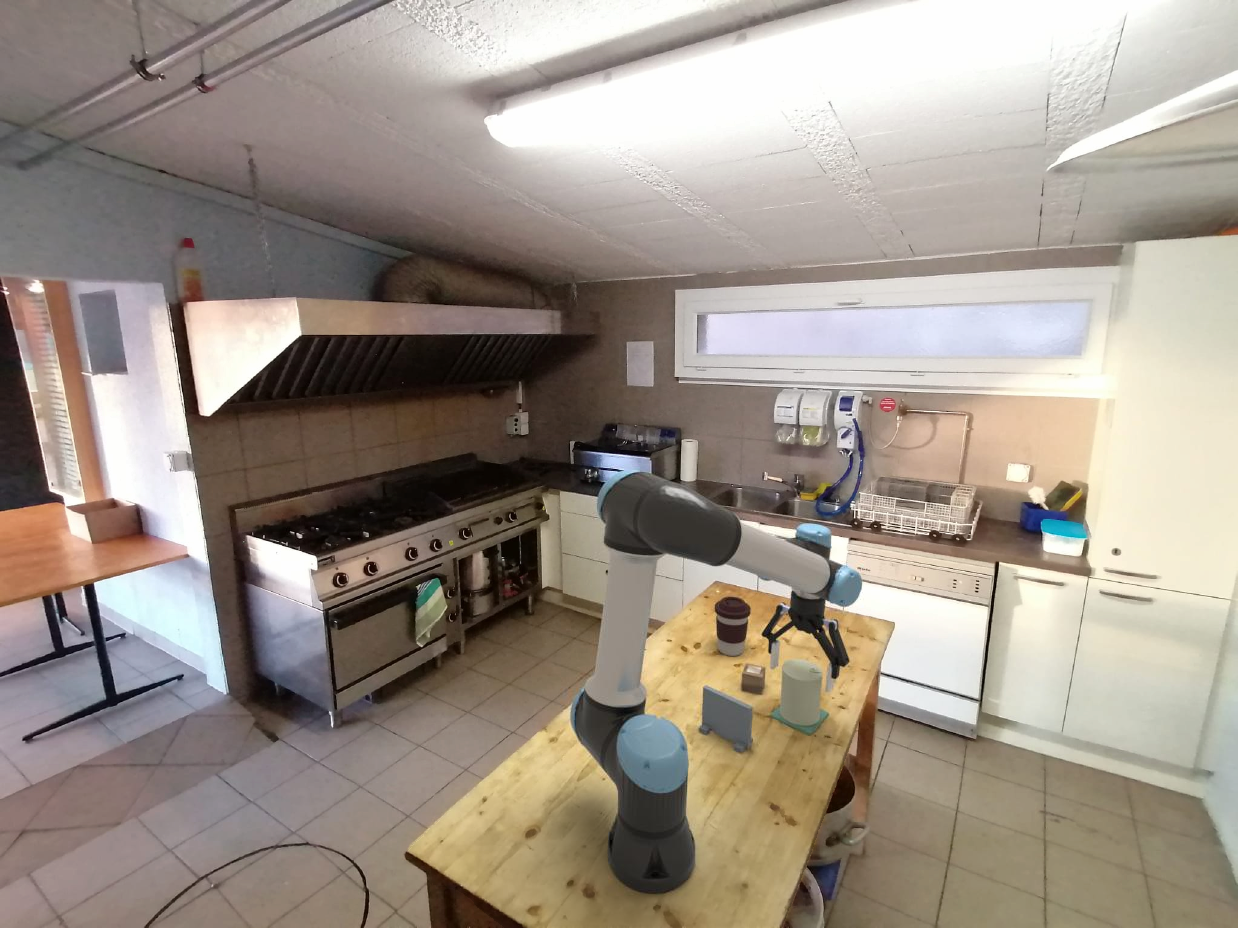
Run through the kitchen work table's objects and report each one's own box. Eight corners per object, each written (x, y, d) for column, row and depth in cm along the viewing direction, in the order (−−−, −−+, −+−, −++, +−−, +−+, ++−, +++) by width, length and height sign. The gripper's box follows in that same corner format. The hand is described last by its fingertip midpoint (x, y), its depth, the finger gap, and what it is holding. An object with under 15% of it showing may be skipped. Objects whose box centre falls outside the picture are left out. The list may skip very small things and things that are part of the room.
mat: (810, 735, 133) (810, 733, 132) (769, 716, 139) (770, 714, 139) (828, 714, 140) (828, 712, 140) (789, 697, 146) (789, 695, 146)
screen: (743, 754, 127) (745, 713, 124) (696, 729, 134) (698, 690, 132) (755, 742, 130) (757, 702, 128) (709, 719, 138) (710, 681, 136)
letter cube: (761, 695, 148) (762, 676, 146) (741, 690, 149) (742, 672, 148) (764, 684, 152) (765, 666, 151) (745, 680, 154) (746, 662, 153)
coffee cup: (753, 647, 170) (756, 598, 167) (740, 662, 162) (743, 612, 159) (721, 637, 175) (723, 590, 172) (707, 652, 167) (709, 603, 164)
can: (822, 728, 134) (826, 680, 131) (780, 723, 136) (783, 676, 133) (817, 704, 143) (820, 659, 140) (777, 699, 145) (780, 655, 142)
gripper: (871, 604, 127) (861, 692, 132) (766, 572, 144) (760, 652, 148) (858, 615, 122) (848, 707, 126) (750, 581, 138) (745, 664, 142)
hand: (800, 677), depth 137 cm, fingers open, 13 cm apart
